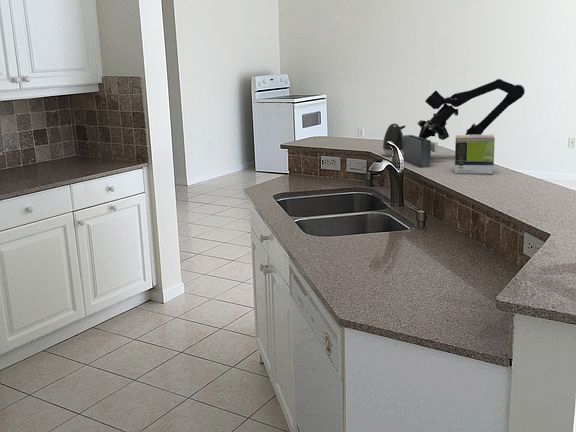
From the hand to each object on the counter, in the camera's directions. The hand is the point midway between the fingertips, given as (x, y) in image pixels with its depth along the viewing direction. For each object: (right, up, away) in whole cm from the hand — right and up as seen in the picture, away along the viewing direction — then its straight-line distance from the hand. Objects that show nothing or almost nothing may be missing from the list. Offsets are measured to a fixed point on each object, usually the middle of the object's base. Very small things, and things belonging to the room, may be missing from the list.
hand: (418, 142), depth 286 cm
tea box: (+17, -15, -27) cm, 36 cm away
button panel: (-2, -10, -6) cm, 12 cm away
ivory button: (+3, -6, -13) cm, 14 cm away
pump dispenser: (-8, -5, +16) cm, 19 cm away
